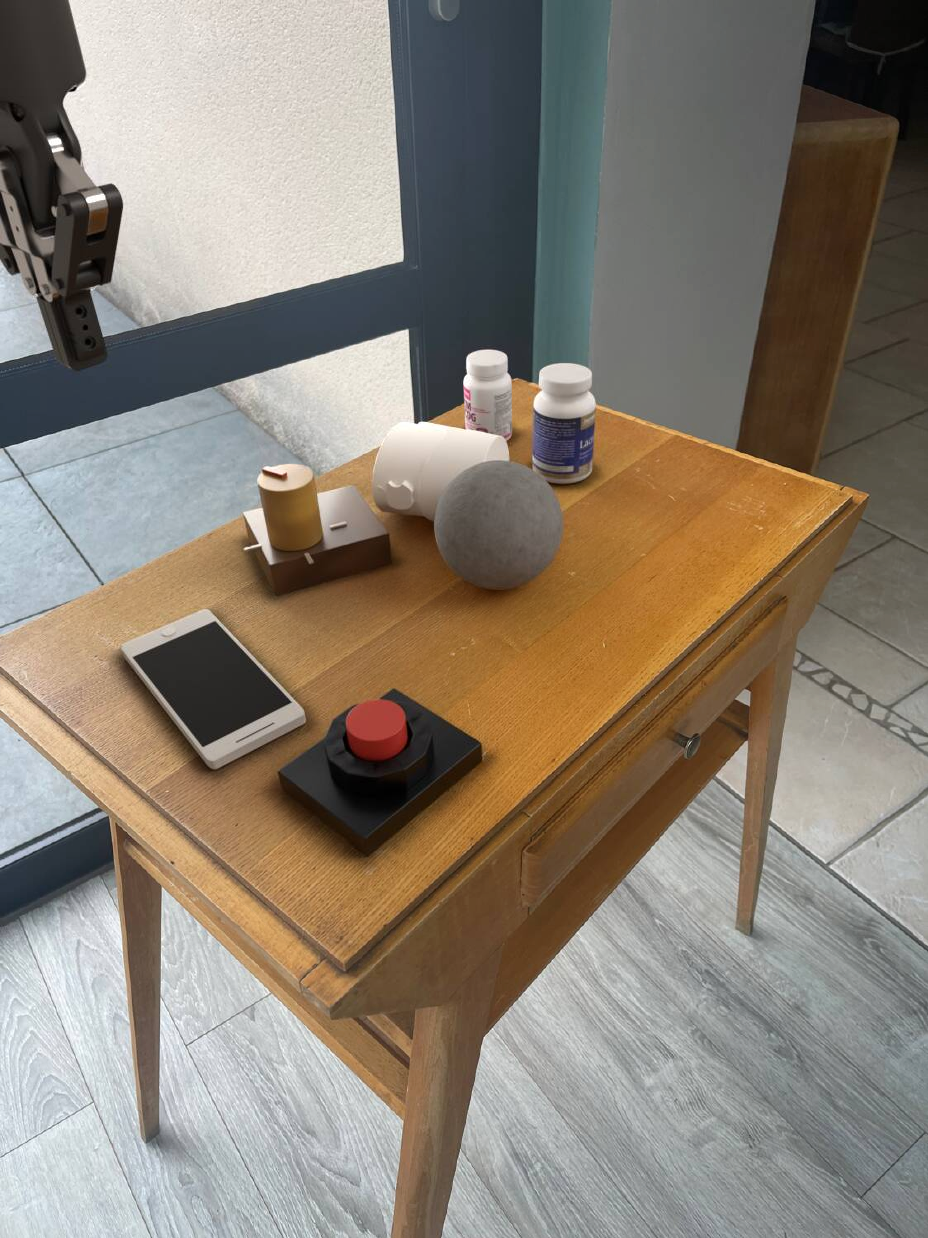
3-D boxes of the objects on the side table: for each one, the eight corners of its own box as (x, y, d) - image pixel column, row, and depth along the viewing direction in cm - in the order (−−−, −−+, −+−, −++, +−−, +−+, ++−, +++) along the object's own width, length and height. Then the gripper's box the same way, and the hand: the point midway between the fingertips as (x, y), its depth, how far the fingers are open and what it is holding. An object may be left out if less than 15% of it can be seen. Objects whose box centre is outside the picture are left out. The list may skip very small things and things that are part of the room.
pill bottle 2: (591, 487, 86) (597, 385, 80) (530, 485, 87) (530, 384, 81) (592, 457, 91) (598, 359, 85) (534, 456, 92) (535, 358, 86)
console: (264, 609, 74) (257, 576, 72) (234, 545, 81) (227, 514, 79) (398, 571, 77) (394, 539, 75) (357, 513, 84) (353, 482, 83)
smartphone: (209, 615, 73) (206, 606, 72) (309, 722, 63) (307, 711, 62) (121, 654, 70) (117, 644, 69) (212, 772, 60) (209, 762, 59)
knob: (334, 530, 77) (324, 467, 73) (299, 557, 74) (288, 493, 70) (292, 517, 79) (281, 455, 75) (257, 542, 76) (244, 479, 72)
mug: (476, 550, 79) (473, 466, 74) (376, 532, 82) (367, 450, 77) (521, 483, 88) (521, 403, 83) (429, 468, 91) (424, 391, 86)
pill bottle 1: (455, 437, 95) (452, 358, 90) (486, 421, 98) (484, 343, 93) (490, 451, 93) (489, 370, 88) (521, 434, 95) (521, 354, 90)
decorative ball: (563, 615, 71) (567, 502, 65) (433, 615, 72) (425, 503, 66) (559, 543, 79) (562, 436, 73) (442, 544, 80) (435, 438, 74)
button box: (367, 857, 54) (361, 818, 52) (281, 789, 59) (272, 750, 56) (482, 761, 60) (481, 722, 58) (396, 705, 64) (391, 667, 62)
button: (376, 770, 55) (373, 750, 54) (336, 742, 57) (333, 721, 56) (419, 737, 57) (417, 716, 56) (379, 711, 59) (376, 690, 58)
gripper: (-187, -29, 40) (-40, 356, 51) (-58, -25, 33) (83, 423, 44) (-20, -41, 45) (85, 316, 55) (128, -41, 37) (216, 371, 48)
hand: (84, 363), depth 50 cm, fingers closed
